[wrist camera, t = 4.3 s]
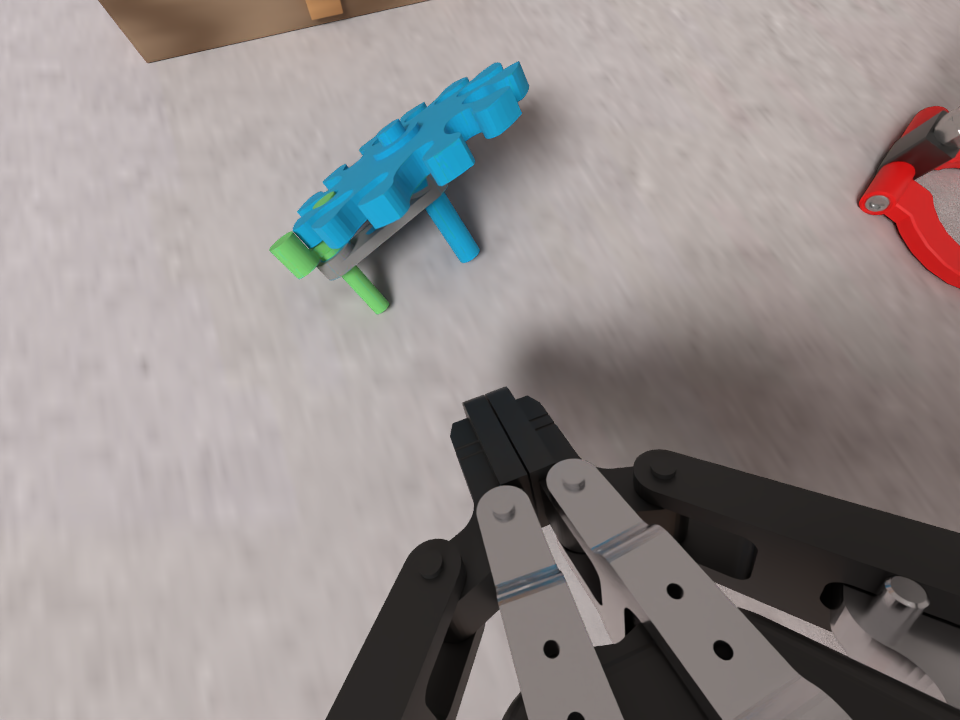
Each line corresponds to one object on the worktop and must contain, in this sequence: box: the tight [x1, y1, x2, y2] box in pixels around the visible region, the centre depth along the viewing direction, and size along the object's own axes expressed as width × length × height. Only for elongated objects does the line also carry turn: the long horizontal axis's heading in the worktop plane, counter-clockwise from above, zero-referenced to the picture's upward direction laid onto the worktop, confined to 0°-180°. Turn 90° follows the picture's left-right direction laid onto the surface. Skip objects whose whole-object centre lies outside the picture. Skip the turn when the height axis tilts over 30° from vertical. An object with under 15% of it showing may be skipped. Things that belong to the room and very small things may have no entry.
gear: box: [269, 61, 529, 314], centre depth 17 cm, size 11×6×10 cm
